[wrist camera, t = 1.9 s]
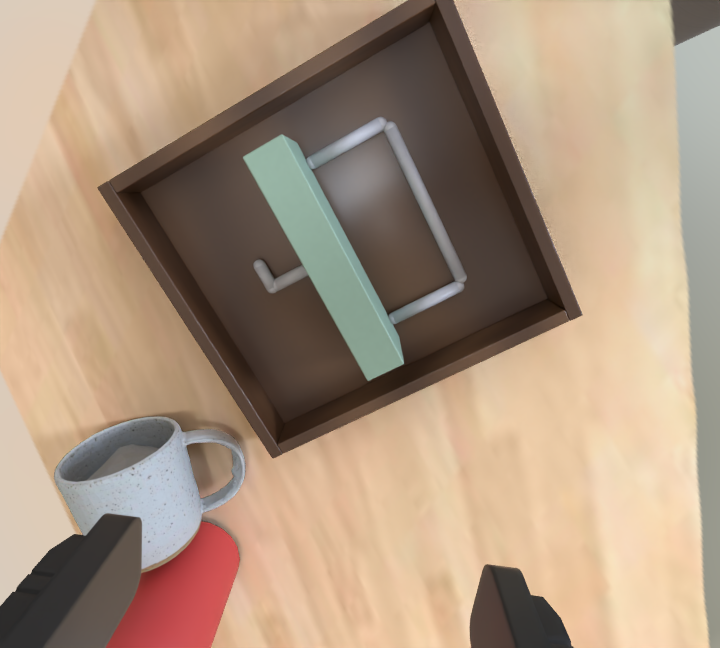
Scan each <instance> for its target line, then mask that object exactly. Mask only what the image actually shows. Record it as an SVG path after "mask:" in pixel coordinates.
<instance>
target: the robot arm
mask: <svg viewBox="0 0 720 648" xmlns="http://www.w3.org/2000/svg"><path fill="white" fill-rule="evenodd" d="M141 569H142V521H141V518H139V517H134V516H126V515H118V514H111V513H106V514H104V515H103V516H102V517H101V518H100V519H99V520H98V521H97V522H96V524H95V525H94V526H93V527H92V529H91V530H90V531H89V532H88V534H87V535H86V536H85V535H77V534H74V535H72V536H71V537H69V538H67V539H66V540H64V541H63V542H61V543H60V544H59V545H57V546H55V547H54V548H52V549H51V550H49V551H48V553H47V554H46V555H45V556H44V557H43V558H42V560H41V561H40V562H39V563H38V564H37V565H36V566H35V568H34V569H33V570H32V573H31V574H30V575H29V574H28V575H27V576H26V578H25V579H24V580H23V581H22V582H21V583H20V584H19V586H18V587H17V589H16V591H15V592H12V593H11V595H10V596H9V597H8V598H7V599H6V600H5V602H4V603H3V604H2V605H1V606H0V648H106V646H107V644H108V643H109V641H110V639H111V637H112V636H113V634H114V632H115V630H116V629H117V627H118V625H119V623H120V622H121V620H122V618H123V616H124V615H125V613H126V611H127V609H128V608H129V606H130V604H131V602H132V601H133V599H134V596H135V594H136V591H137V589H138V585H139V582H140V577H141ZM470 642H471V648H573V646H571V641H570V638H569V636H568V634H567V632H566V629H565V627H564V625H563V622H562V620H561V618H560V617H559V616H558V614H557V613H556V612H555V611H554V610H553V608H552V607H551V606H550V605H549V604H548V602H547V601H546V600H545V599H544V598H543V597H540V596H532V595H530V592H529V589H528V587H527V584H526V582H525V579H524V577H523V574H522V572H521V571H520V570H519V569H518V568H511V567H503V566H495V565H488V564H487V565H485V566H484V568H483V571H482V575H481V578H480V582H479V586H478V590H477V594H476V598H475V601H474V605H473V609H472V613H471V618H470Z"/></svg>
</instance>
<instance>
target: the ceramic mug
mask: <svg viewBox="0 0 720 648" xmlns="http://www.w3.org/2000/svg"><path fill="white" fill-rule="evenodd" d="M203 442H212V443H218V444H221V445H224V446H226V447H227V448H230V449H231V450H232V455H233V468H232V474H233V476H234V477H233V478H232V480H231V481H230V482H229V483H228V484H227V485H226V486H225V487H224V488H222V489H220V490H219V491H218V492H216V493H214V494H212V495H210V496H207V497H205V498H200V495H199V490H198V487H197V484H196V480H195V479H194V475H193V472H192V467H191V463H190V458H189V456H188V451H187V447H186V446H187V445H189V444H192V443H203ZM244 477H245V460H244V456H243V453H242V450H241V448H240V445H239V444H238V442H237V441H236V440H235V439H234V438H233V437H232V436H231V435H229V434H227V433H225V432H223V431H219V430H215V429H202V430H192V431H187V432H182V430H181V428H180V426H179V424H178V423H177V422H176V421H175V420H174V419H171V418H168V417H159V416H156V417H144V418H139V419H134V420H130V421H127V422H123V423H120V424H117V425H115V426H112V427H110V428H107V429H105V430H103V431H101V432H99V433H96V434H94V435H92V436H91V437H90V438H88V439H86V440H85V441H83V442H81V443H80V444H79V445H77V446H76V447H75V448H73V449H72V450H71V451H70V452H69V453H67V454H66V455H65V456H64V457H63V459H62V460H61V461H60V462H59V464H58V465H57V467H56V469H55V473H54V479H55V483H56V485H57V487H58V489H59V490H60V492H61V494H62V495H63V497H64V499H65V501H66V503H67V505H68V507H69V509H70V511H71V513H72V515H73V517H74V519H75V521H76V523H77V524H78V526H79V528H80V530H81V532H82V534H83V535H85V536H86V535H87V534H88V532H89V531H90V530H91V529H92V527H93V526H94V525H95V524H96V522H97V521H98V520H99V519H100V518H101V517H102V516H103V515H104V514H106V513H111V514H118V515H126V516H134V517H139V518H141V521H142V569H141V573H143V572H147V571H150V570H153V569H155V568H157V567H159V566H161V565H163V564H165V563H167V562H169V561H170V560H172V559H173V558H175V557H176V556H177V555H178V554H179V553H181V552H182V551H183V550H184V549H185V548H186V547H187V546H188V545H189V544H190V542H191V541H192V540H193V538H194V537H195V535H196V534H197V532H198V530H199V528H200V524H201V519H202V513H204V512H206V511H210V510H213V509H215V508H217V507H219V506H221V505H223V504H225V503H226V502H227V501H228V500H230V499H231V498H232V497H233V496H234V495H235V494H236V493H237V491H238V490H239V488H240V487H241V485H242V483H243V480H244Z"/></svg>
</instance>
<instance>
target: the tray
mask: <svg viewBox="0 0 720 648" xmlns="http://www.w3.org/2000/svg"><path fill="white" fill-rule="evenodd" d="M378 117H383V118H385V119H386V121H387V122H394V123H395V124H396V126H397V128H398V130H399V132H400V134H401V136H402V138H403V141H404V143H405V145H406V147H407V149H408V151H409V153H410V155H411V158H412V160H413V162H414V164H415V166H416V168H417V170H418V173H419V175H420V177H421V179H422V181H423V183H424V185H425V187H426V190H427V192H428V194H429V196H430V198H431V200H432V202H433V205H434V207H435V209H436V211H437V213H438V215H439V217H440V219H441V222H442V224H443V226H444V228H445V230H446V232H447V234H448V237H449V239H450V241H451V243H452V245H453V247H454V249H455V251H456V254H457V256H458V258H459V260H460V262H461V264H462V266H463V269H464V271H465V273H466V275H467V279H466V281H465V282H463V284H464V289H463V291H462V292H460V293H458V294H456V295H454V296H452V297H450V298H448V299H446V300H444V301H442V302H440V303H438V304H436V305H434V306H432V307H429V308H427V309H425V310H423V311H421V312H419V313H417V314H415V315H413V316H411V317H409V318H407V319H405V320H403V321H401V322H399V323H397V324H393V326H394V328H395V330H396V332H397V334H398V335H399V338H400V344H401V349H402V355H403V360H404V364H403V365H401V366H399V367H397V368H395V369H392V370H390V371H388V372H386V373H384V374H382V375H380V376H378V377H376V378H374V379H371V380H369V381H367V379H366V377H365V376H364V374H363V372H362V370H361V368H360V367H359V365H358V363H357V361H356V360H355V358H354V356H353V354H352V352H351V351H350V349H349V347H348V345H347V343H346V342H345V340H344V338H343V336H342V335H341V333H340V331H339V329H338V327H337V326H336V324H335V322H334V320H333V318H332V317H331V315H330V313H329V311H328V309H327V308H326V306H325V304H324V302H323V301H322V299H321V297H320V295H319V293H318V292H317V290H316V288H315V286H314V284H313V283H312V281H311V279H310V277H309V275H308V276H306V277H304V278H303V279H301V280H299V281H297V282H295V283H293V284H291V285H289V286H287V287H285V288H283V289H282V290H279V291H277V292H276V293H269V292H268V291H267V290H266V288H265V286H264V284H263V283H262V281H261V279H260V278H259V276H258V274H257V273H256V271H255V269H254V267H253V264H254V262H255V261H256V260H258V259H261V260H263V261H264V262H265V263H266V265H267V267H268V268H269V270H270V272H271V273H272V275H273V277H274V279H276V278H278V277H279V276H281V275H283V274H285V273H287V272H289V271H291V270H293V269H295V268H296V267H298V266H300V265H302V263H301V261H300V259H299V258H298V256H297V254H296V252H295V250H294V249H293V247H292V245H291V243H290V242H289V240H288V238H287V236H286V234H285V233H284V231H283V229H282V227H281V225H280V224H279V222H278V220H277V218H276V216H275V215H274V213H273V211H272V209H271V208H270V206H269V204H268V202H267V200H266V199H265V197H264V195H263V193H262V191H261V190H260V188H259V186H258V184H257V182H256V181H255V179H254V177H253V175H252V174H251V172H250V170H249V168H248V166H247V165H246V163H245V161H244V159H243V156H245V155H247V154H248V153H250V152H252V151H254V150H255V149H257V148H259V147H260V146H262V145H264V144H266V143H267V142H269V141H271V140H272V139H274V138H276V137H278V136H279V135H281V134H282V135H284V136H286V137H288V138H289V139H291V140H293V141H295V142H297V143H298V145H299V147H300V149H301V151H302V153H303V155H304V157H305V159H306V160H307V158H308V157H309V156H311V155H312V154H314V153H316V152H318V151H319V150H321V149H323V148H325V147H327V146H328V145H330V144H332V143H334V142H335V141H337V140H339V139H341V138H342V137H344V136H346V135H348V134H349V133H351V132H353V131H355V130H356V129H358V128H360V127H362V126H364V125H365V124H367V123H369V122H371V121H372V120H374V119H376V118H378ZM311 170H312V172H313V174H314V176H315V178H316V179H317V181H318V183H319V185H320V187H321V189H322V191H323V193H324V195H325V197H326V198H327V200H328V202H329V204H330V206H331V208H332V210H333V212H334V214H335V216H336V217H337V219H338V221H339V223H340V225H341V227H342V229H343V231H344V233H345V235H346V237H347V238H348V240H349V242H350V244H351V246H352V248H353V250H354V252H355V254H356V256H357V257H358V259H359V261H360V263H361V265H362V267H363V269H364V271H365V273H366V275H367V276H368V278H369V280H370V282H371V284H372V286H373V288H374V290H375V292H376V294H377V295H378V297H379V299H380V301H381V303H382V305H383V307H384V309H385V311H386V313H387V314H388V316H389V314H390V313H392V312H394V311H396V310H398V309H400V308H402V307H404V306H406V305H408V304H410V303H412V302H414V301H416V300H418V299H420V298H422V297H424V296H426V295H428V294H430V293H432V292H434V291H436V290H438V289H440V288H442V287H444V286H446V285H448V284H450V283H452V282H454V281H455V279H454V277H453V275H452V273H451V271H450V269H449V267H448V265H447V263H446V261H445V259H444V256H443V254H442V252H441V250H440V248H439V246H438V244H437V242H436V240H435V238H434V235H433V233H432V231H431V229H430V227H429V225H428V223H427V221H426V219H425V217H424V214H423V212H422V210H421V208H420V206H419V204H418V202H417V200H416V198H415V196H414V194H413V191H412V189H411V187H410V185H409V183H408V181H407V179H406V177H405V175H404V173H403V170H402V168H401V166H400V164H399V162H398V160H397V158H396V156H395V154H394V152H393V149H392V147H391V145H390V143H389V141H388V139H387V137H386V135H385V133H384V131H382V132H380V133H378V134H377V135H375V136H373V137H371V138H370V139H368V140H366V141H364V142H362V143H361V144H359V145H357V146H355V147H353V148H352V149H350V150H348V151H346V152H345V153H343V154H341V155H339V156H337V157H336V158H334V159H332V160H330V161H329V162H327V163H325V164H323V165H321V166H320V167H318V168H316V169H311ZM98 190H99V191H100V193H101V194H102V196H103V197H104V199H105V201H106V202H107V204H108V205H109V207H110V208H111V210H112V211H113V213H114V214H115V216H116V218H117V219H118V221H119V222H120V224H121V225H122V227H123V228H124V230H125V231H126V233H127V234H128V236H129V238H130V239H131V241H132V242H133V244H134V245H135V247H136V248H137V250H138V251H139V253H140V255H141V256H142V258H143V259H144V261H145V262H146V264H147V265H148V267H149V268H150V270H151V272H152V273H153V275H154V276H155V278H156V279H157V281H158V282H159V284H160V285H161V287H162V289H163V290H164V292H165V293H166V295H167V296H168V298H169V299H170V301H171V302H172V304H173V306H174V307H175V309H176V310H177V312H178V313H179V315H180V316H181V318H182V319H183V321H184V323H185V324H186V326H187V327H188V329H189V330H190V332H191V333H192V335H193V336H194V338H195V340H196V341H197V343H198V344H199V346H200V347H201V349H202V350H203V352H204V353H205V355H206V357H207V358H208V360H209V361H210V363H211V364H212V366H213V367H214V369H215V370H216V372H217V374H218V375H219V377H220V378H221V380H222V381H223V383H224V384H225V386H226V387H227V389H228V391H229V392H230V394H231V395H232V397H233V398H234V400H235V401H236V403H237V404H238V406H239V408H240V409H241V411H242V412H243V414H244V415H245V417H246V418H247V420H248V421H249V423H250V425H251V426H252V428H253V429H254V431H255V432H256V434H257V435H258V437H259V438H260V440H261V442H262V443H263V445H264V446H265V448H266V449H267V451H268V452H269V454H270V455H271V457H272V458H275V457H277V456H279V455H282V454H283V453H286V452H288V451H290V450H292V449H294V448H296V447H298V446H301V445H303V444H305V443H307V442H309V441H311V440H314V439H316V438H318V437H320V436H322V435H324V434H326V433H329V432H331V431H333V430H335V429H337V428H339V427H342V426H344V425H346V424H348V423H350V422H352V421H355V420H357V419H359V418H361V417H363V416H365V415H367V414H370V413H372V412H374V411H376V410H378V409H380V408H383V407H385V406H387V405H389V404H391V403H393V402H395V401H398V400H400V399H402V398H404V397H406V396H408V395H411V394H413V393H415V392H417V391H419V390H421V389H423V388H426V387H428V386H430V385H432V384H434V383H436V382H439V381H441V380H443V379H445V378H447V377H449V376H452V375H454V374H456V373H458V372H460V371H462V370H464V369H467V368H469V367H471V366H473V365H475V364H477V363H480V362H482V361H484V360H486V359H488V358H490V357H492V356H495V355H497V354H499V353H501V352H503V351H505V350H508V349H510V348H512V347H514V346H516V345H518V344H521V343H523V342H525V341H527V340H529V339H531V338H533V337H536V336H538V335H540V334H542V333H544V332H546V331H549V330H551V329H553V328H555V327H557V326H559V325H561V324H564V323H566V322H568V321H569V320H570V321H571V320H573V319H575V318H577V317H579V316H582V312H581V310H580V307H579V305H578V302H577V300H576V298H575V295H574V293H573V290H572V288H571V285H570V283H569V281H568V278H567V276H566V273H565V271H564V268H563V266H562V264H561V261H560V259H559V256H558V254H557V251H556V249H555V247H554V244H553V242H552V239H551V237H550V234H549V232H548V230H547V227H546V225H545V222H544V220H543V217H542V215H541V213H540V210H539V208H538V205H537V203H536V200H535V198H534V196H533V193H532V191H531V188H530V186H529V183H528V181H527V179H526V176H525V174H524V171H523V169H522V166H521V164H520V162H519V159H518V157H517V154H516V152H515V149H514V147H513V145H512V142H511V140H510V137H509V135H508V132H507V130H506V128H505V125H504V123H503V120H502V118H501V115H500V113H499V111H498V108H497V106H496V103H495V101H494V98H493V96H492V94H491V91H490V89H489V86H488V84H487V81H486V79H485V77H484V74H483V72H482V69H481V67H480V64H479V62H478V60H477V57H476V55H475V52H474V50H473V47H472V45H471V43H470V40H469V38H468V35H467V33H466V30H465V28H464V26H463V23H462V21H461V18H460V16H459V13H458V11H457V9H456V6H455V4H454V1H453V0H408V1H406V2H404V3H403V4H401V5H399V6H398V7H396V8H394V9H393V10H391V11H389V12H388V13H386V14H384V15H383V16H381V17H380V18H378V19H376V20H375V21H373V22H371V23H370V24H368V25H366V26H365V27H363V28H361V29H360V30H358V31H356V32H355V33H353V34H351V35H350V36H348V37H346V38H345V39H343V40H341V41H340V42H338V43H336V44H335V45H333V46H331V47H330V48H328V49H326V50H325V51H323V52H321V53H320V54H318V55H316V56H315V57H313V58H311V59H310V60H308V61H307V62H305V63H303V64H302V65H300V66H298V67H297V68H295V69H293V70H292V71H290V72H288V73H287V74H285V75H283V76H282V77H280V78H278V79H277V80H275V81H273V82H272V83H270V84H268V85H267V86H265V87H263V88H262V89H260V90H258V91H257V92H255V93H253V94H252V95H250V96H248V97H247V98H245V99H243V100H242V101H240V102H238V103H237V104H235V105H234V106H232V107H230V108H229V109H227V110H225V111H224V112H222V113H220V114H219V115H217V116H215V117H214V118H212V119H210V120H209V121H207V122H205V123H204V124H202V125H200V126H199V127H197V128H195V129H194V130H192V131H190V132H189V133H187V134H185V135H184V136H182V137H180V138H179V139H177V140H175V141H174V142H172V143H170V144H169V145H167V146H165V147H164V148H162V149H160V150H159V151H157V152H156V153H154V154H152V155H151V156H149V157H147V158H146V159H144V160H142V161H141V162H139V163H137V164H136V165H134V166H132V167H131V168H129V169H127V170H126V171H124V172H122V173H121V174H119V175H117V176H116V177H114V178H112V179H111V180H110V181H107V182H106V183H104V184H102V185H101V186H99V187H98Z"/></svg>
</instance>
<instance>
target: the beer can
mask: <svg viewBox="0 0 720 648" xmlns="http://www.w3.org/2000/svg"><path fill="white" fill-rule="evenodd" d="M239 561H240V558H239V553H238V548H237V546H236V544H235V542H234V541H233V539H232V537H231V536H230V535H229V534H227V533H226V532H225V531H224V530H223V529H222V528H220V527H218V526H216V525H214V524H212V523H208V522H203V521H201V524H200V528H199V530H198V532H197V534H196V535H195V537H194V538H193V540H192V541H191V542H190V544H189V545H188V546H187V547H186V548H185V549H184V550H183V551H182V552H181V553H179V554H178V555H177V556H176V557H175V558H173V559H172V560H170V561H169V562H167V563H165V564H163V565H161V566H159V567H157V568H155V569H153V570H150V571H147V572H143V573H141V577H140V582H139V585H138V589H137V591H136V594H135V596H134V599H133V601H132V602H131V604H130V606H129V608H128V609H127V611H126V613H125V615H124V616H123V618H122V620H121V622H120V623H119V625H118V627H117V629H116V630H115V632H114V634H113V636H112V637H111V639H110V641H109V643H108V644H107V646H106V648H211V646H212V643H213V640H214V637H215V634H216V631H217V628H218V625H219V623H220V620H221V617H222V614H223V611H224V608H225V605H226V602H227V600H228V597H229V594H230V591H231V588H232V585H233V582H234V579H235V577H236V574H237V571H238V566H239Z"/></svg>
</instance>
